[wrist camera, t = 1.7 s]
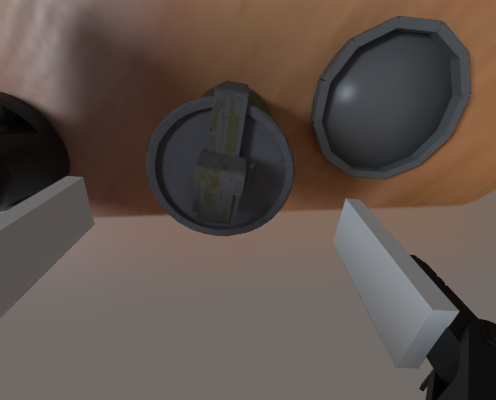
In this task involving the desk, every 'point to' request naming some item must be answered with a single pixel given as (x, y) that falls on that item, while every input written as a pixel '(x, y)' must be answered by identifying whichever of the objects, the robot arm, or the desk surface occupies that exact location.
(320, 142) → the round tray
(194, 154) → the canister
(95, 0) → the desk surface
